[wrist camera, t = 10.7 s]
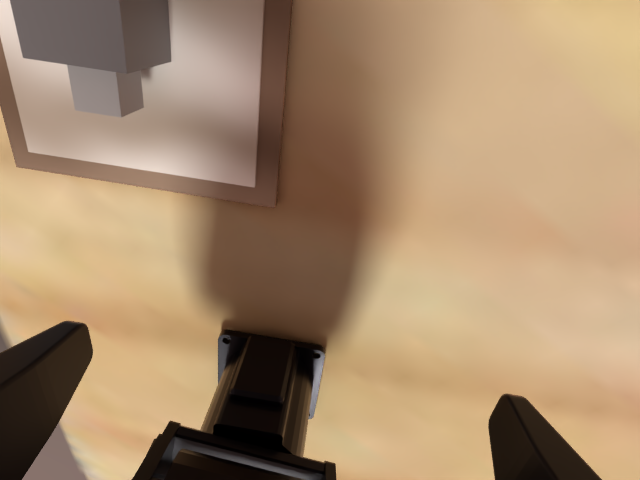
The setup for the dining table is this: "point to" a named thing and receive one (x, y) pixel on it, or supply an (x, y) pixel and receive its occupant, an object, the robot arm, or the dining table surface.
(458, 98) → the dining table surface
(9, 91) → the picture frame
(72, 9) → the marker
